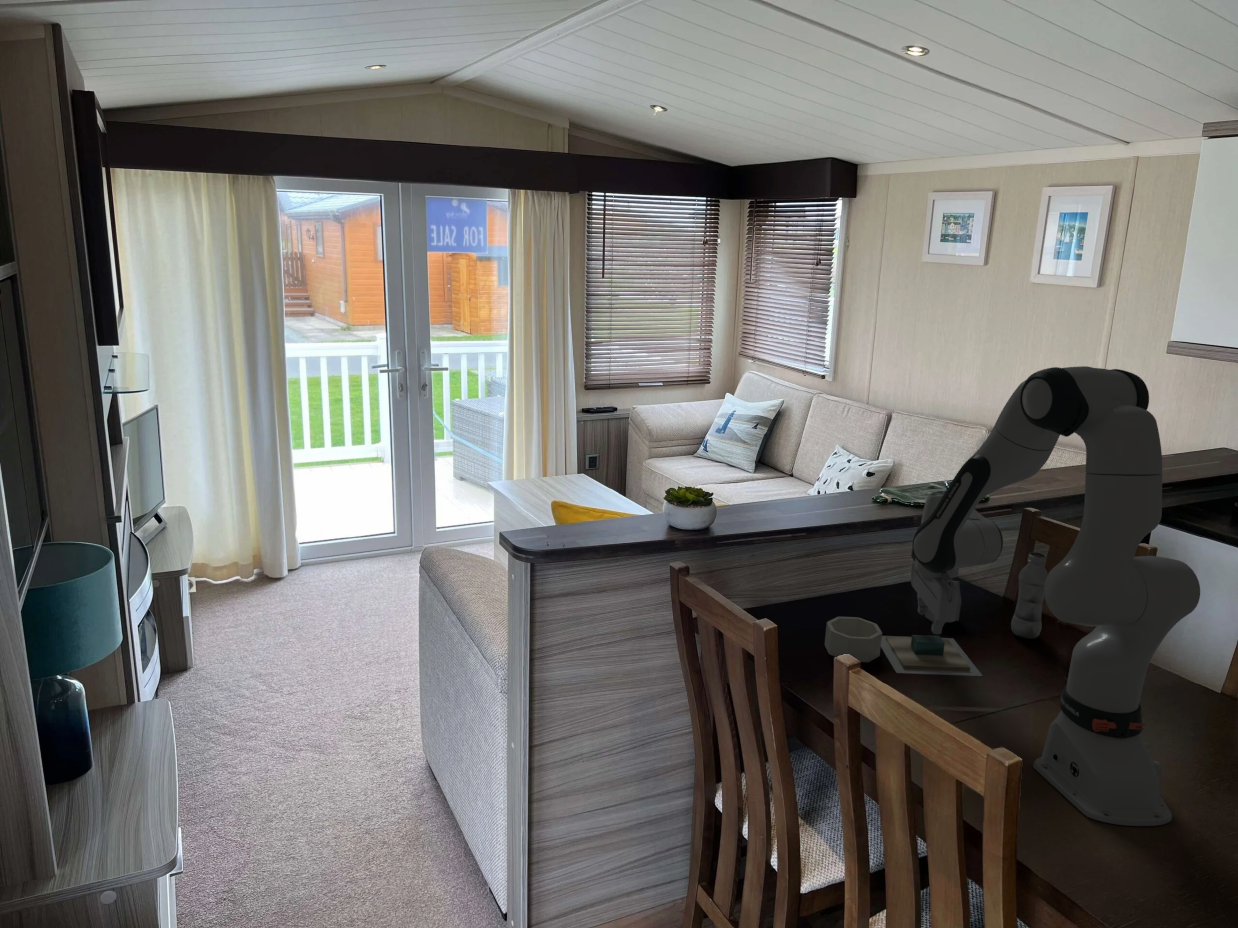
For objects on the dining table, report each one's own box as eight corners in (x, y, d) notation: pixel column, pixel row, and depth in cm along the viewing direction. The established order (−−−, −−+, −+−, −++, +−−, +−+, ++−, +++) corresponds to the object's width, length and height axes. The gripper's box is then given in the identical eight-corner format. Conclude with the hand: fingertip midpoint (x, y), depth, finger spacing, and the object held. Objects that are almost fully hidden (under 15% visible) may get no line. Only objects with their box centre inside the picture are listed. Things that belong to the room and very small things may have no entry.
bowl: (883, 665, 195) (886, 639, 193) (831, 663, 195) (834, 637, 193) (870, 642, 205) (872, 617, 204) (821, 640, 205) (823, 616, 204)
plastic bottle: (1033, 630, 214) (1046, 550, 209) (1044, 643, 208) (1057, 561, 203) (1005, 628, 215) (1017, 548, 210) (1014, 641, 209) (1027, 559, 204)
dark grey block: (958, 623, 218) (963, 584, 215) (933, 625, 216) (938, 585, 213) (948, 616, 221) (954, 578, 218) (924, 618, 219) (929, 580, 217)
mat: (982, 678, 190) (982, 675, 190) (896, 675, 190) (896, 672, 190) (952, 640, 208) (953, 638, 208) (873, 637, 208) (874, 635, 208)
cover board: (969, 671, 192) (972, 654, 191) (903, 668, 192) (905, 652, 191) (947, 641, 206) (949, 626, 205) (885, 639, 206) (887, 624, 205)
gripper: (969, 583, 184) (960, 645, 188) (937, 547, 204) (929, 604, 207) (938, 582, 184) (929, 644, 188) (908, 546, 204) (901, 603, 207)
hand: (929, 622), depth 198 cm, fingers open, 8 cm apart
